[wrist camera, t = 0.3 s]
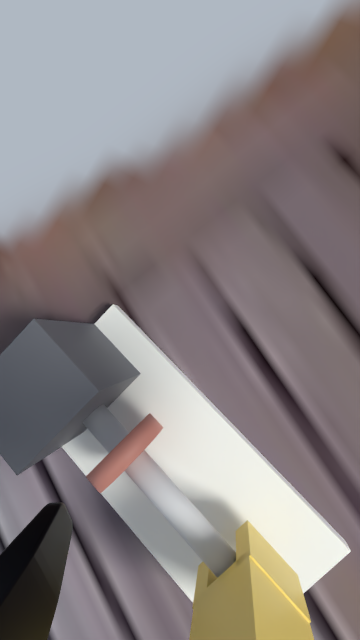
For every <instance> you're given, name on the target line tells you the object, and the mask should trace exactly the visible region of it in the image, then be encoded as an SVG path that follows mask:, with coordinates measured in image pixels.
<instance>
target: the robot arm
mask: <svg viewBox="0 0 360 640" xmlns="http://www.w3.org/2000/svg"><path fill="white" fill-rule="evenodd" d="M71 535H72V521H71V518H70V516H69V513H68V511H67V509H66V506H65V504H64V503H62V502H58V503H49V504H47V505H46V506H45V507H44V508H43V509H42V510H41V511H40V512H39V513H38V514H37V515H36V516H35V518H34V519H33V520H32V521H31V522H30V523H29V524H28V525H27V526H26V527H25V528H24V529H23V531H22V532H21V533H20V534H19V535H18V536H17V537H16V538H15V539H14V540H13V541H12V543H11V544H10V545H9V546H8V547H7V548H6V549H5V550H4V551H3V552H2V553H1V554H0V640H47V638H48V635H49V631H50V628H51V624H52V621H53V617H54V614H55V610H56V607H57V603H58V599H59V594H60V590H61V585H62V580H63V575H64V570H65V565H66V560H67V555H68V550H69V545H70V540H71Z"/></svg>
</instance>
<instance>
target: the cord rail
mask: <svg viewBox="0 0 360 640" xmlns="http://www.w3.org/2000/svg"><path fill="white" fill-rule="evenodd" d="M60 447H62V448H63V449H64V450H65V451H66V453H67V454H68V455H69V456H70V457H71V459H72V460H73V461H74V462H75V463H76V465H77V466H78V467H79V468H80V469H81V470H82V472H83V473H84V474H85V475H86V478H87V479H88V480H89V481H90V482H91V483H92V485H93V486H94V487H95V488H96V489H97V491H98V492H99V493H101V494H102V495H103V497H104V498H105V499H106V500H107V501H108V503H109V504H110V505H111V506H112V507H113V508H114V510H115V511H116V512H117V513H118V514H119V516H120V517H121V518H122V519H123V520H124V522H125V523H126V524H127V525H128V526H129V527H130V529H131V530H132V531H133V532H134V533H135V535H136V536H137V537H138V538H139V539H140V541H141V542H142V543H143V544H144V545H145V546H146V548H147V549H148V550H149V551H150V552H151V554H152V555H153V556H154V557H155V558H156V560H157V561H158V562H159V563H160V564H161V565H162V567H163V568H164V569H165V570H166V571H167V573H168V574H169V575H170V576H171V577H172V579H173V580H174V581H175V582H176V583H177V584H178V586H179V587H180V588H181V589H182V590H183V592H184V593H185V594H186V595H187V596H188V598H189V599H190V600H191V601H192V602H193V601H194V594H195V586H196V579H197V572H198V565H200V564H201V563H202V562H204V563H205V564H206V565H207V567H208V568H209V569H210V570H211V571H212V572H213V573H214V575H215V576H216V577H217V578H218V577H219V576H220V575H221V574H222V573H224V572H225V571H226V570H227V569H228V568H229V567H230V566H231V565H232V564H233V563H234V562H235V561H236V530H237V529H238V528H239V527H240V526H241V525H243V524H244V523H245V522H246V521H247V520H248V521H249V522H250V523H251V524H252V526H253V527H254V528H255V529H256V530H257V531H258V532H259V533H260V534H261V535H262V536H263V537H264V539H265V540H266V541H267V542H268V543H269V544H270V545H271V546H272V547H273V548H274V549H275V551H276V552H277V553H278V554H279V555H280V556H281V557H282V558H283V559H284V560H285V561H286V563H287V564H288V565H289V566H290V567H291V568H292V569H293V570H294V571H295V572H296V573H297V574H298V577H299V581H300V584H301V588H302V592H303V593H304V592H306V591H307V590H308V589H309V588H310V587H311V586H312V585H313V584H315V583H316V582H317V581H318V580H319V579H320V578H321V577H322V576H324V575H325V574H326V573H327V572H328V571H329V570H330V569H331V568H333V567H334V566H335V565H336V564H337V563H338V562H339V561H340V560H342V559H343V558H344V557H345V556H346V555H347V554H348V553H349V552H351V550H350V548H349V547H348V545H347V543H346V541H345V540H344V539H343V538H342V537H341V536H340V535H339V534H338V533H337V532H336V531H335V530H334V529H333V528H332V526H331V525H330V524H329V523H328V522H327V521H326V520H325V519H324V518H323V517H322V516H321V515H320V514H319V513H318V512H317V511H316V510H315V509H314V508H313V507H312V506H311V505H310V504H309V503H308V502H307V501H306V500H305V499H304V498H303V496H302V495H301V494H300V493H299V492H298V491H297V490H296V489H295V488H294V487H293V486H292V485H291V484H290V483H289V482H288V481H287V480H286V479H285V478H284V477H283V476H282V475H281V474H280V473H279V472H278V471H277V470H276V469H275V468H274V467H273V465H272V464H271V463H270V462H269V461H268V460H267V459H266V458H265V457H264V456H263V455H262V454H261V453H260V452H259V451H258V450H257V449H256V448H255V447H254V446H253V445H252V444H251V443H250V442H249V441H248V440H247V439H246V438H245V437H244V436H243V434H242V433H241V432H240V431H239V430H238V429H237V428H236V427H235V426H234V425H233V424H232V423H231V422H230V421H229V420H228V419H227V418H226V417H225V416H224V415H223V414H222V413H221V412H220V411H219V410H218V409H217V408H216V407H215V406H214V405H213V403H212V402H211V401H210V400H209V399H208V398H207V397H206V396H205V395H204V394H203V393H202V392H201V391H200V390H199V389H198V388H197V387H196V386H195V385H194V384H193V383H192V382H191V381H190V380H189V379H188V378H187V377H186V376H185V375H184V373H183V372H182V371H181V370H180V369H179V368H178V367H177V366H176V365H175V364H174V363H173V362H172V361H171V360H170V359H169V358H168V357H167V356H166V355H165V354H164V353H163V352H162V351H161V350H160V349H159V348H158V347H157V346H156V345H155V344H154V342H153V341H152V340H151V339H150V338H149V337H148V336H147V335H146V334H145V333H144V332H143V331H142V330H141V329H140V328H139V327H138V326H137V325H136V324H135V323H134V322H133V321H132V320H131V319H130V318H129V317H128V316H127V315H126V314H125V313H124V311H123V310H122V309H121V308H120V307H119V306H117V305H114V304H113V305H112V306H111V307H110V308H109V309H108V310H107V311H106V312H105V313H104V314H103V315H102V316H101V317H100V318H99V320H98V321H97V322H96V323H95V324H89V323H78V322H67V321H55V320H44V319H33V320H32V321H31V322H30V323H29V324H28V325H27V326H26V327H25V329H24V330H23V331H22V332H21V333H20V334H19V335H18V336H17V337H16V338H15V339H14V340H13V342H12V343H11V344H10V345H9V346H8V347H7V348H6V349H5V350H4V351H3V352H2V353H1V355H0V455H1V456H2V457H3V458H4V460H5V461H6V462H7V463H8V465H9V466H10V467H11V468H12V470H13V471H14V472H15V473H16V475H19V474H20V473H22V472H23V471H25V470H26V469H28V468H29V467H31V466H32V465H34V464H35V463H37V462H39V461H40V460H42V459H43V458H45V457H46V456H48V455H49V454H51V453H52V452H54V451H55V450H57V449H58V448H60Z"/></svg>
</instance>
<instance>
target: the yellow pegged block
mask: <svg viewBox="0 0 360 640" xmlns="http://www.w3.org/2000/svg"><path fill="white" fill-rule="evenodd" d="M310 622H311V620H310V616H309V613H308V609H307V606H306V602H305V599H304V595H303V592H302V588H301V584H300V581H299V577H298V574H297V573H296V572H295V571H294V570H293V569H292V568H291V567H290V566H289V565H288V564H287V563H286V561H285V560H284V559H283V558H282V557H281V556H280V555H279V554H278V553H277V552H276V551H275V549H274V548H273V547H272V546H271V545H270V544H269V543H268V542H267V541H266V540H265V539H264V537H263V536H262V535H261V534H260V533H259V532H258V531H257V530H256V529H255V528H254V527H253V526H252V524H251V523H250V522H249V521H248V520H247V521H246V522H245V523H244V524H243V525H241V526H240V527H239V528H238V529H237V530H236V561H235V562H234V563H233V564H232V565H231V566H230V567H229V568H228V569H227V570H226V571H225V572H224V573H222V574H221V575H220V576H219V577H218V578H217V577H216V576H215V575H214V573H213V572H212V571H211V570H210V569H209V568H208V567H207V565H206V564H205V563H204V562H202V563H201V564H200V565H198V572H197V579H196V586H195V594H194V601H193V616H192V624H191V631H190V638H189V640H314V638H313V634H312V630H311V627H310Z"/></svg>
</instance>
